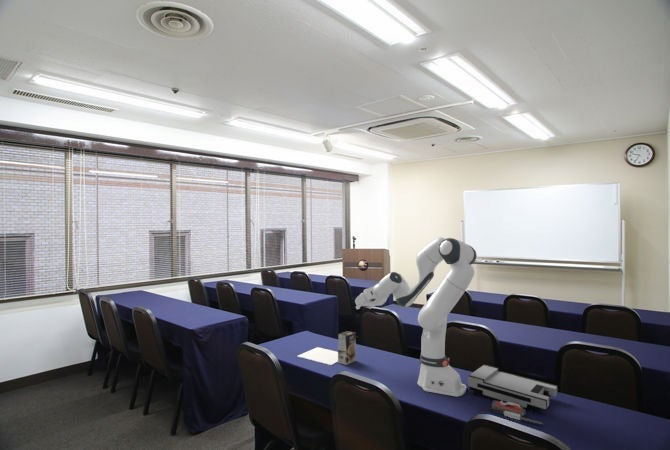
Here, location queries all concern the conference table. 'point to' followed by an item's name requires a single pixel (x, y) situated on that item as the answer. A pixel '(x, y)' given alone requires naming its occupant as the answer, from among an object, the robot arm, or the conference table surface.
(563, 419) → the conference table surface
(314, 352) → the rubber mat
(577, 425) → the conference table surface
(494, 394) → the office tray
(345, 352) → the coffee box
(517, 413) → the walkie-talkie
